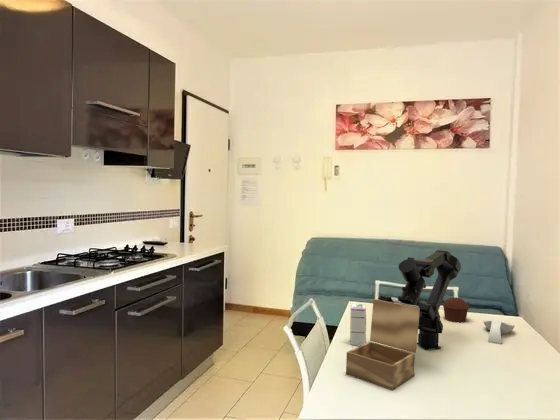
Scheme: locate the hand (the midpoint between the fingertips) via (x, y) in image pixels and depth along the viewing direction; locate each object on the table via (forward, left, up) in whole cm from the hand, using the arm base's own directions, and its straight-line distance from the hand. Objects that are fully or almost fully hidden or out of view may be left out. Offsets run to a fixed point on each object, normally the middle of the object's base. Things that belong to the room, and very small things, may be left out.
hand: (396, 328), depth 142 cm
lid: (+2, +1, +2) cm, 3 cm away
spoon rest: (-57, -22, -13) cm, 63 cm away
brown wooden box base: (+8, +6, -12) cm, 16 cm away
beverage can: (-19, -41, -13) cm, 47 cm away
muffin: (-53, -45, -13) cm, 71 cm away
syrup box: (+4, -23, -13) cm, 26 cm away
